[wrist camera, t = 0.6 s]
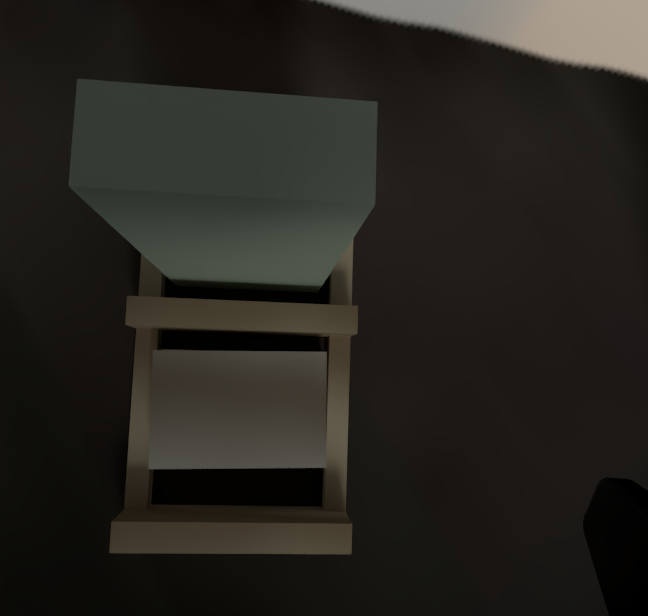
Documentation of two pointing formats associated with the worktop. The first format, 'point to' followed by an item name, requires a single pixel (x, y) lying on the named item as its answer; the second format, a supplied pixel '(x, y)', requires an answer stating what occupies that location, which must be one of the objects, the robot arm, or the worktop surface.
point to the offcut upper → (238, 409)
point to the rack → (236, 520)
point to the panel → (226, 179)
